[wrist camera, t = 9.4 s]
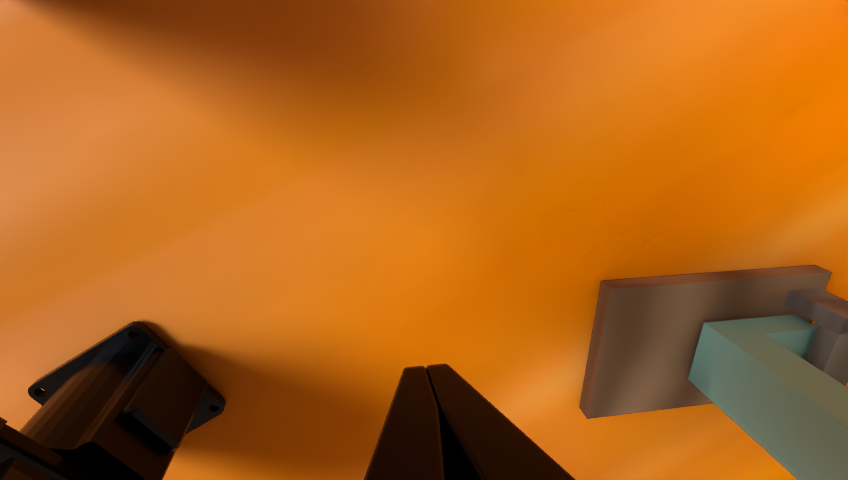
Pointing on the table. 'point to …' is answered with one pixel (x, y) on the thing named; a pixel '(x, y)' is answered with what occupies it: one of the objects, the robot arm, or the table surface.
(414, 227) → the table surface
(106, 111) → the table surface
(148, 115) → the table surface
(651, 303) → the bracket
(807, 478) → the teal block
